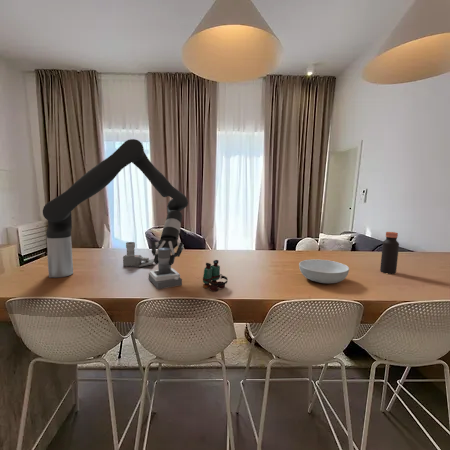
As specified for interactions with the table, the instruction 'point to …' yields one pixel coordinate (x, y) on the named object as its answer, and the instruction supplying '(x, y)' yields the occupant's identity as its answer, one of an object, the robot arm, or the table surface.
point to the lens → (164, 260)
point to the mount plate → (165, 279)
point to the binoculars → (213, 277)
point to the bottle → (389, 253)
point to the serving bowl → (323, 270)
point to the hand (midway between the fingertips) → (163, 263)
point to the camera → (134, 257)
